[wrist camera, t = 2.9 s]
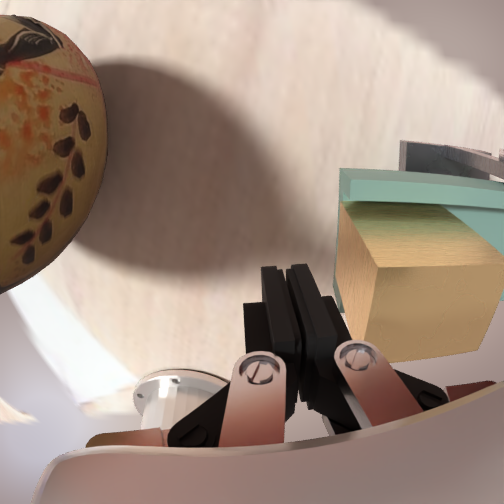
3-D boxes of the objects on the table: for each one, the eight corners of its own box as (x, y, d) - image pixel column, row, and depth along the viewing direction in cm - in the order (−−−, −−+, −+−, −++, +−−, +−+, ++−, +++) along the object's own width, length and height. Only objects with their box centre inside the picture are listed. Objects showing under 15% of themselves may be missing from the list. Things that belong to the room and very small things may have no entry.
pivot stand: (466, 258, 25) (518, 303, 17) (387, 267, 24) (436, 328, 17) (485, 141, 20) (553, 164, 12) (400, 128, 19) (475, 145, 12)
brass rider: (426, 273, 16) (477, 350, 10) (335, 275, 17) (357, 365, 11) (439, 204, 14) (512, 263, 8) (340, 200, 15) (377, 267, 9)
